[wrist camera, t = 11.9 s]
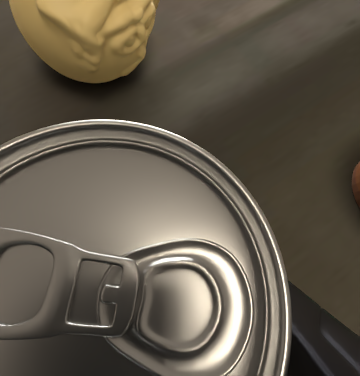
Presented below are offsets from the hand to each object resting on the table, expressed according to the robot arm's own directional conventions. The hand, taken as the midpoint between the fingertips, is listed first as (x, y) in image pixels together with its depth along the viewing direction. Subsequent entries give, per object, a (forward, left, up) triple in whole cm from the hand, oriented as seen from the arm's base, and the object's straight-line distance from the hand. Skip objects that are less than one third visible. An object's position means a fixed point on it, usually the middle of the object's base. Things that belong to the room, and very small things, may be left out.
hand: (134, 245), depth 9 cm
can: (-1, -1, -7) cm, 7 cm away
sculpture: (+14, +17, -13) cm, 26 cm away
